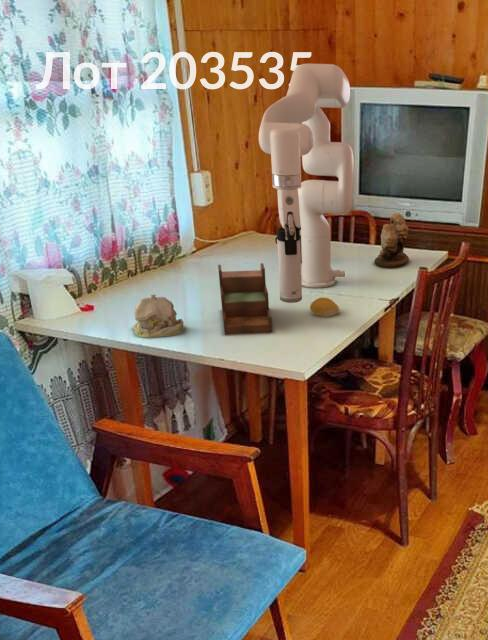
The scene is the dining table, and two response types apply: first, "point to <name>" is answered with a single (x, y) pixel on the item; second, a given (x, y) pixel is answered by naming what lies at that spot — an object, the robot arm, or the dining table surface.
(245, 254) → the dining table surface
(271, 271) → the dining table surface
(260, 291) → the step rack
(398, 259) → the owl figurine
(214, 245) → the dining table surface
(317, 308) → the bread roll
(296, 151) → the robot arm
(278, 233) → the travel mug
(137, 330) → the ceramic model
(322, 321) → the dining table surface
